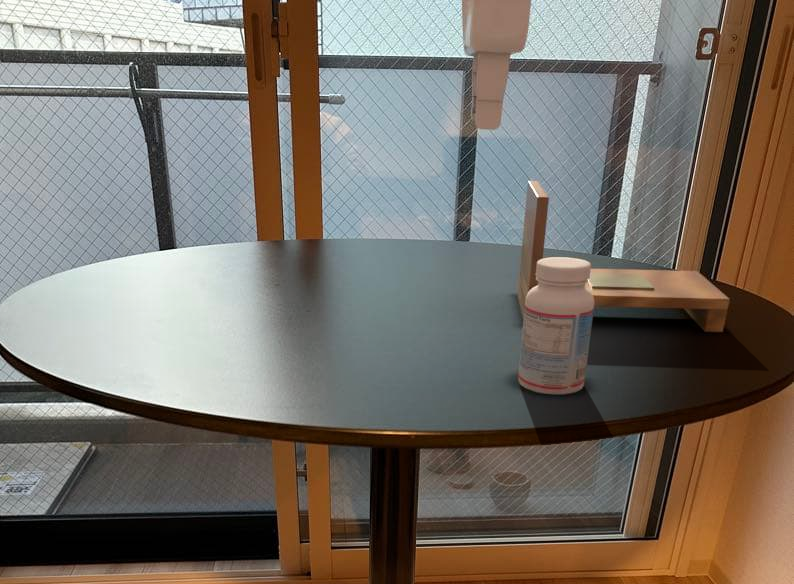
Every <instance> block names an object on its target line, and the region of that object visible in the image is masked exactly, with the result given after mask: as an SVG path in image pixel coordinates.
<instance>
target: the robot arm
mask: <svg viewBox="0 0 794 584" xmlns="http://www.w3.org/2000/svg"><path fill="white" fill-rule="evenodd" d="M531 8H532V0H461V22H462V23H461V24H462V25H461V26H462V44H463V51H464V54H465V55H466V56H467V57H473V58H472V68H471V70H472V71H471V73H472V74H471V86H472V87H471V108H470V117H471V119H472V121H473V122H474V124H475V127H477V128H478V129H479V130H491V131H494V130H497V129H499V128H500V126H501V122H502V113H503V103H504V98H505V93H506V88H507V83H508V79H509V73H510V62H511V56H512V55H515V54H518V53H521V52H523V51H524V49H525V48H526V44H527V39H528V36H529V35H528V34H529V29H530V27H529V26H530V17H531Z"/></svg>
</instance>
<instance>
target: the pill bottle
mask: <svg viewBox="0 0 794 584" xmlns="http://www.w3.org/2000/svg"><path fill="white" fill-rule="evenodd" d="M590 269H592V264H591V262H589V261H588V260H585V259H583V258H582V259H581V258H576V257H575V258H574V257H564V256H560V257H559V256H553V257H551V256H550V257H543V259H541V260H539V261H538V262H537V268H536V274H535V275H536V276H537V277H536V280H537V281H538V285H537V286H535V287H533V288H532V289H531V290H530V291H529V292H528V294H527V296H526V301H525V310H524V319H523V324H522V333H521V334H522V335H521V343H520V344H521V345H520V354H519V355H520V356H519V366H518V383H519V385H520V386H521V387H523V388H525V389H527V390H528V391H531V392H535V393H538V394H547V395H569V394H574V393H577V392H580V391H581V390H583V387H584V385H585V380H586V373H587V366H588V356H589V348H590V341H591V334H592V333H591V332H592V326H593V320H594V319H593V318H594V310H595V306H594V297H593V295H592V293H591V292H590V291H589V290H588V289H587V288H585V284H586V283H587V282H588V279H589V278H590Z"/></svg>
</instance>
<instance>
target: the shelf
mask: <svg viewBox="0 0 794 584" xmlns="http://www.w3.org/2000/svg"><path fill="white" fill-rule="evenodd" d="M549 200H550V197H549V196H548V194H547V192H546V191H545V189H544V188H543V187H542V185H541V184H540V182H539V181H538V180H527V185H526V197H525V207H524V208H525V209H524V219H523V220H524V221H523V229H522V230H523V231H522V242H521V255H520V264H519V265H520V266H519V267H520V268H519V277H518V288H517V299H518V303H519V308H520V311H521V315H522V319H523V320H524V310H525V301H526V296H527V294H528V292H529V291H530V290H531V289H532V288H533V287H535V286H537V285H538V281H537V280H536V277H537V276H536V275H535V274H536V268H537V262H538V261H539V260H541V259H544V249H545V240H546V231H547V230H546V229H547V223H548V222H547V220H548V213H549V212H548V211H549ZM585 288H587V289H588V290H589V291H590V292H591V293H592V295H593V297H594V307H609V308H610V307H611V308H645V309H646V308H647V309H648V308H649V309H679V310H680V309H682V310H684V311H685V312H686V313H687V314H688V315H689V317H691V319H692V320H693V321H694V322H695V323H696V324H697V325H698V326H699V327H700V329H702V330H703V332H705V333H708V332H709V333H723V332H724V328H725V324H726V319H727V316H728V309H729V305H730V300H731V299H730V298H729V296H727V295H726V294H725V293H723V292H722V291H721V290H720V289H719V288H718V287H716V286H715V285H714V284H713V283H712V282H711V281H710V280H708V279H707V278H706V277H705V276H704V275H703V274H702V273H700V272H699V271H698V270H668V269H667V270H664V269H627V268H624V269H623V268H621V269H620V268H591V269H590V278H589V279H588V282H587V283H586V284H585Z"/></svg>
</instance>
